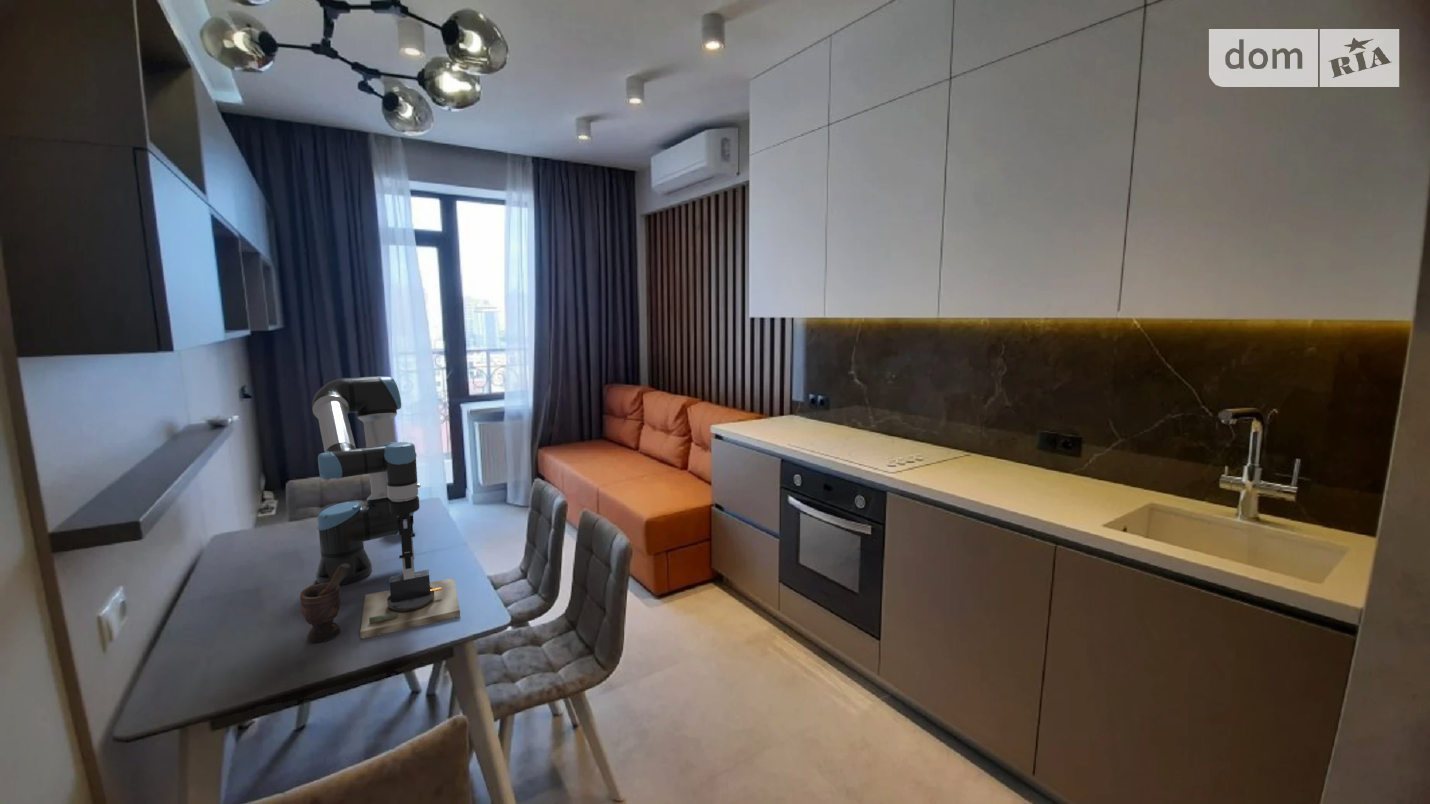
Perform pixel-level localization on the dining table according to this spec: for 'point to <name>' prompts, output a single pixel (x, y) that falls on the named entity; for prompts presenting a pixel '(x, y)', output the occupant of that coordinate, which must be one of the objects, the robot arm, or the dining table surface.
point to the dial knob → (410, 592)
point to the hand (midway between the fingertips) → (409, 568)
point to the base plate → (386, 621)
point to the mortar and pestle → (323, 606)
